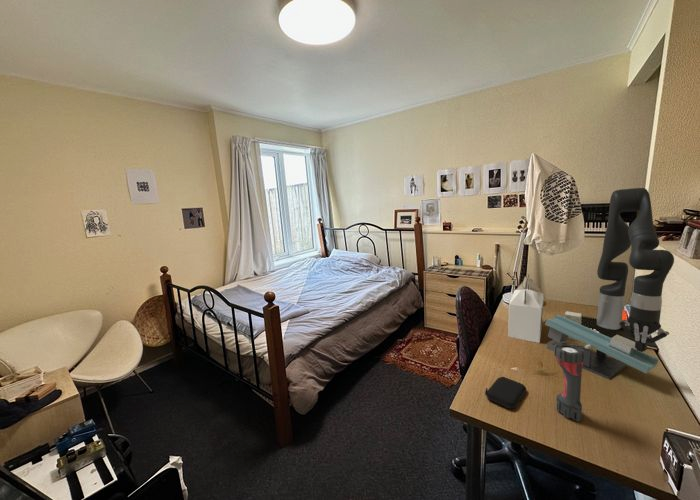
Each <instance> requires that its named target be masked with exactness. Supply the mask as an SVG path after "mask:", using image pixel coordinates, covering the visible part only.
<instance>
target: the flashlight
mask: <svg viewBox="0 0 700 500" xmlns="http://www.w3.org/2000/svg"><path fill="white" fill-rule="evenodd" d="M566 342H567V341H565V342H560V344H555V348H554V351H553V353H554V354H553V356H555V360H556V363H558V365H559V366H560V368H561V369H562V372H563V374H562V375H563V384H564V386H563V387H564V389H563V391H562V393H559V394H557V395H556V401H555V402H556V411H557V412H558V413H561V414H562V416H563V417H564V418H566V419H572V420H573V421H576V422H578V423H579V422H581V421H582V412H583V411H582V410H583V404H582V402H581V393H582V391H581V390H582V376H583V370H584V369H583V362H584V350H583V349H580V348H579V347H580V345H578V344H577V343H576V344H575V343H573V344H571V343H570V344H566Z"/></svg>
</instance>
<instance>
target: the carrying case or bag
mask: <svg viewBox="0 0 700 500" xmlns="http://www.w3.org/2000/svg"><path fill="white" fill-rule="evenodd" d="M526 392H527V388H526V386H525V385H524V384H523V383H521V382H518V381H515V380H513V379H511V378H508V377H505V376H500V377H497V379H495V381H494V382H493V383H492V385H491V386H490V387H489V389H488V387H486V388H485V391H484V395H485V396H486V398H487V399H488V400H489V401H491V402H492V401H493V403H495V404H497V405H500V406H501V407H503V406H504V408H506V409H509V410H513V409H515V408H517V405H518V404H519V403H520V401H521V399H522V398H523V396H524V395H525V393H526Z"/></svg>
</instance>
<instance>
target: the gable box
mask: <svg viewBox="0 0 700 500" xmlns="http://www.w3.org/2000/svg"><path fill="white" fill-rule="evenodd" d="M544 295H545V294H544V293H543V291H542V290H541V289H540V287H539V286H538V284H537V283H536V281H534V280H533V279H530V274H527V277H526V276H525V275H524V278H523V280H522V282H521V283H520V284H519V286H517V288H516V289H515V290H514V291H513V293H512V296H511V298H510V301H509V304H508V323H507V324H508V327H507V331H508V332H507V337H508V338H512V339H517V340H521V341H526V342H533V343H537V344H540V343H541V337H542V330H543V329H542V327H543V315H544V314H543V313H544Z"/></svg>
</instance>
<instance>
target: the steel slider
mask: <svg viewBox="0 0 700 500" xmlns="http://www.w3.org/2000/svg"><path fill="white" fill-rule="evenodd" d="M610 338H611V341H610V343H609V347H611V348H614V349H616V350H618V351H620V352H622V353H624V354H626V355H629V356H631V355H633V353H634V350H635V349H636V348H635V341H633V340H631V339H629V338H626V337H623V336H621V335H619V334H616V335H614V336H612V337H610Z"/></svg>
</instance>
